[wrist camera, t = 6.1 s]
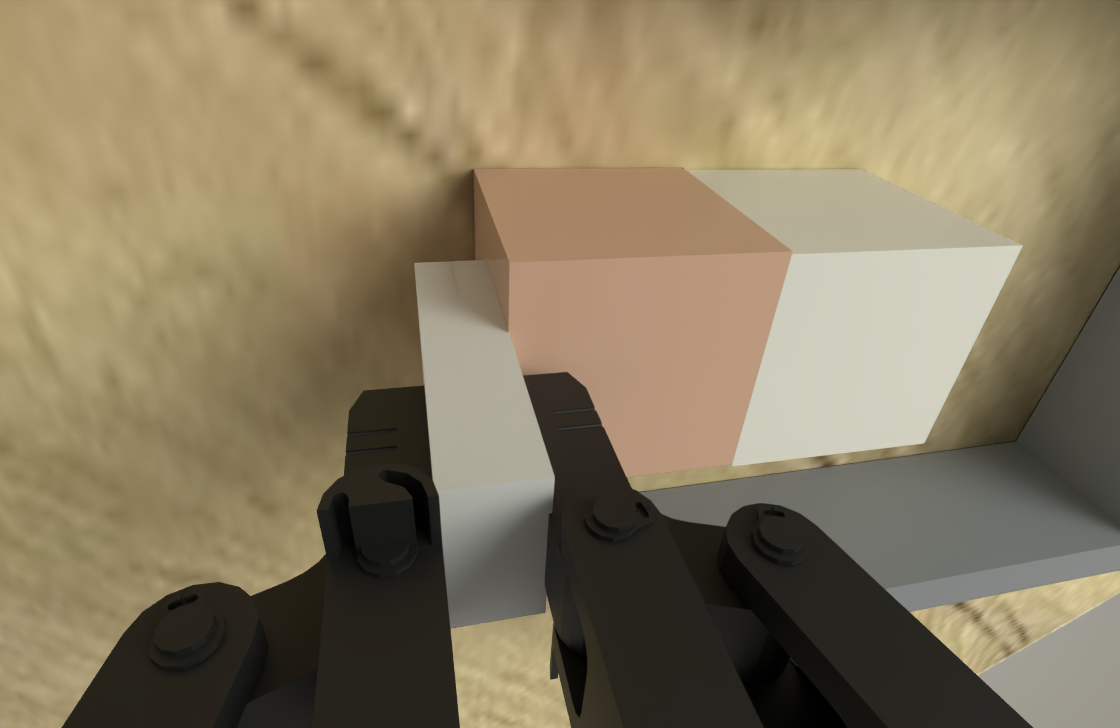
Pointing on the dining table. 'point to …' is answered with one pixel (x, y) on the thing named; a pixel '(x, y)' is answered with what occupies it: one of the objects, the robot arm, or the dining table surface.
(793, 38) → the dining table surface
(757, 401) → the tile
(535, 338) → the tile
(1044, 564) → the box
